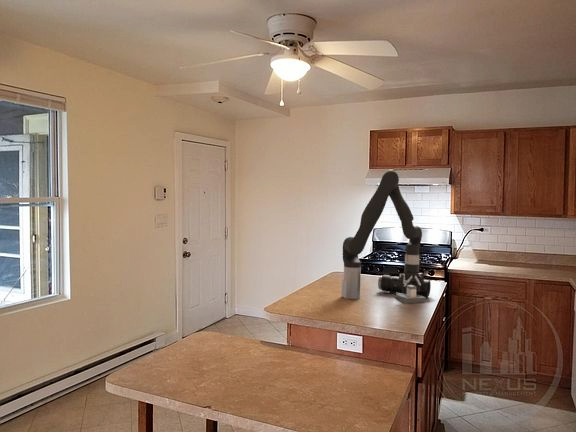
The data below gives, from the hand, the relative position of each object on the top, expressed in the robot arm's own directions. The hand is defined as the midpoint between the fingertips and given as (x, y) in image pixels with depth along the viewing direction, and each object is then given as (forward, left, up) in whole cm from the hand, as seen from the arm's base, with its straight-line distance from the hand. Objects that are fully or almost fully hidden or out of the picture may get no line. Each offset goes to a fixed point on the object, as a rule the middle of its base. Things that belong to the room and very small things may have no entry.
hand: (410, 292), depth 234 cm
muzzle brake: (+4, +13, -5) cm, 14 cm away
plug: (0, 0, -4) cm, 4 cm away
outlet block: (0, 0, -4) cm, 4 cm away
